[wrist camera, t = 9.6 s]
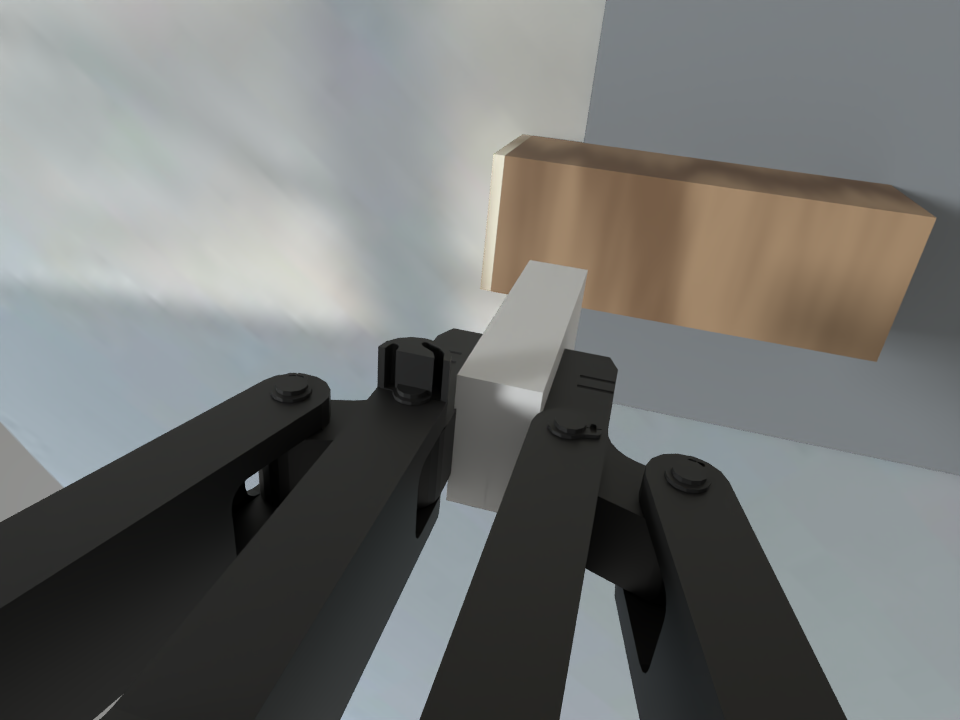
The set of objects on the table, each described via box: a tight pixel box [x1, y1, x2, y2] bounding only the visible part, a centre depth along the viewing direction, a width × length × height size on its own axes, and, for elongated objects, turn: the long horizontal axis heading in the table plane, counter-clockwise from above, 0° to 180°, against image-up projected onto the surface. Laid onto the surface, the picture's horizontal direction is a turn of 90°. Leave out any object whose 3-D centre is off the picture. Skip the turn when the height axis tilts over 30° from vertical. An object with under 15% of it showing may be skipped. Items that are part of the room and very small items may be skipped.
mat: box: [574, 0, 960, 476], centre depth 26 cm, size 20×18×1 cm
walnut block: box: [480, 134, 936, 362], centre depth 25 cm, size 5×5×14 cm
